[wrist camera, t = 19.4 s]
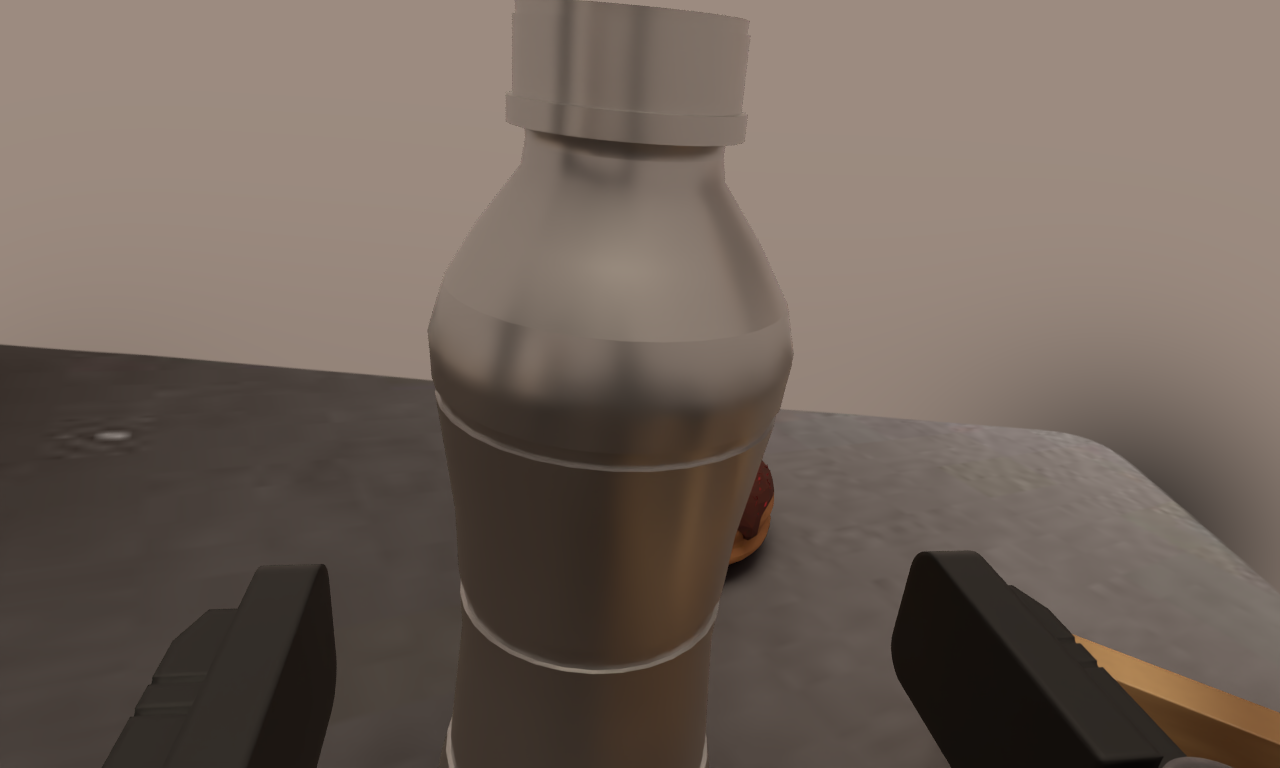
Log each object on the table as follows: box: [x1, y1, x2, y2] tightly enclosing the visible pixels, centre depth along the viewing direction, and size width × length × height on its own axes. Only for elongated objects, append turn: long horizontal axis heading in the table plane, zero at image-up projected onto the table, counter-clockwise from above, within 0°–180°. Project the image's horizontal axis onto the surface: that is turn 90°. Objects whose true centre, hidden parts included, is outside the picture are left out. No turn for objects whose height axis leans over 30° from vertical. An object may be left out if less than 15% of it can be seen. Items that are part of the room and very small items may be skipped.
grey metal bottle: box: [428, 0, 794, 768], centre depth 16 cm, size 6×7×20 cm
